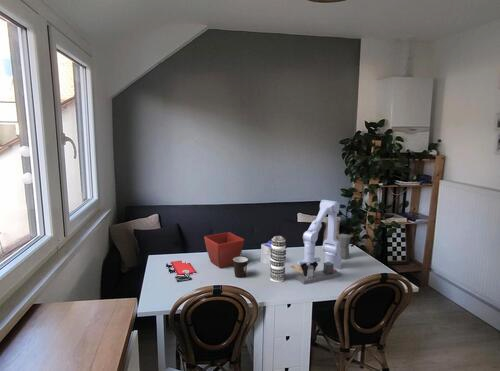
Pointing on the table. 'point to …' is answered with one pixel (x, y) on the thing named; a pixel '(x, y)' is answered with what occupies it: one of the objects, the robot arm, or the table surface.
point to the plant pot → (223, 248)
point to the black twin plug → (328, 268)
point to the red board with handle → (182, 270)
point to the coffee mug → (240, 266)
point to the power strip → (318, 276)
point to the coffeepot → (345, 244)
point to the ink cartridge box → (266, 253)
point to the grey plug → (309, 271)
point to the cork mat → (298, 268)
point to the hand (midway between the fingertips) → (308, 275)
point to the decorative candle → (277, 259)
